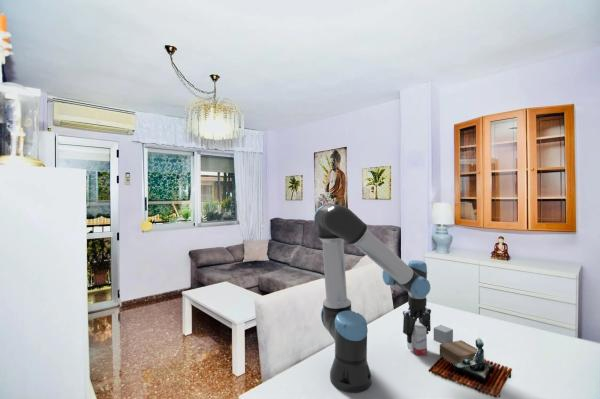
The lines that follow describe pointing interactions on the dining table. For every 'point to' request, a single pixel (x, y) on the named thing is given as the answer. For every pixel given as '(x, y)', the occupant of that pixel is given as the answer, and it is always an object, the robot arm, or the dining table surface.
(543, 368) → the dining table surface
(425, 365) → the dining table surface
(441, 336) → the slate block
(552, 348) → the dining table surface
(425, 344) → the ink box
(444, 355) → the walnut block
